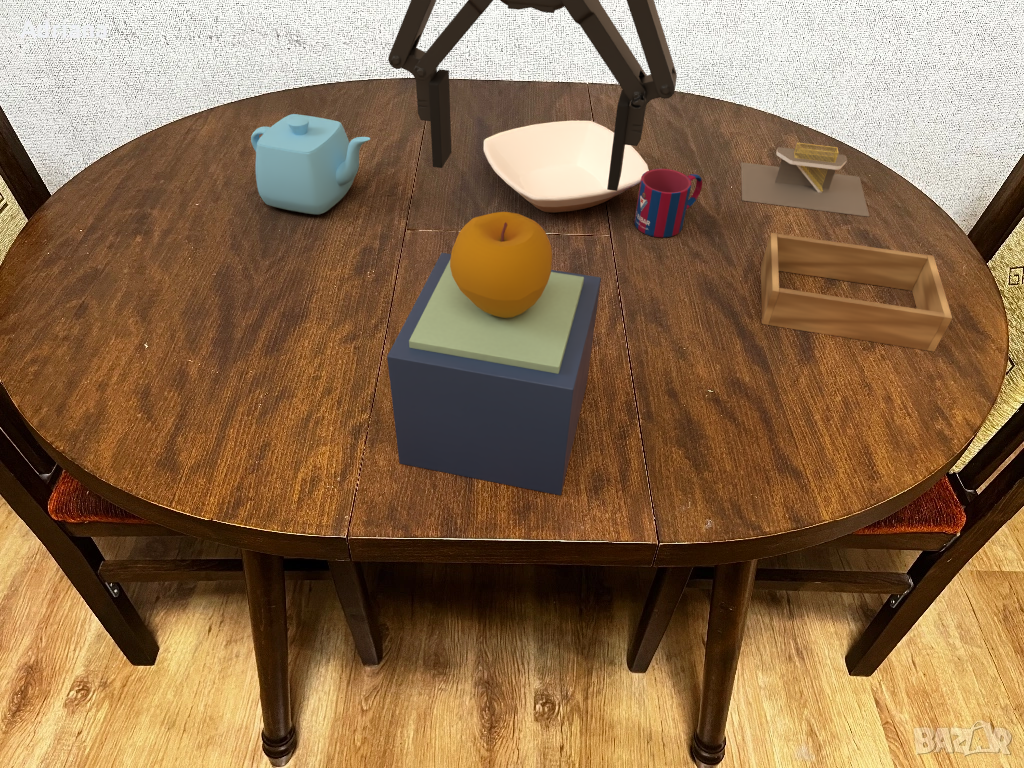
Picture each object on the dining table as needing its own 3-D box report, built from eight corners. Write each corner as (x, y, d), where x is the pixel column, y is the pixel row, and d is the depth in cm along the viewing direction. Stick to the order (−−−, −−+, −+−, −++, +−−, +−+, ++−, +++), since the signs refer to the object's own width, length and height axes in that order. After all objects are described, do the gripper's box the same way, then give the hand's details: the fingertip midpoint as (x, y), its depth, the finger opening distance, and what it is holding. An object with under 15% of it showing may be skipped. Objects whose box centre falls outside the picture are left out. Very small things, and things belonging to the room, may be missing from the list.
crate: (561, 495, 72) (573, 389, 62) (399, 463, 74) (386, 356, 64) (587, 382, 83) (601, 277, 73) (445, 357, 85) (441, 252, 76)
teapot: (359, 232, 103) (349, 153, 95) (240, 208, 106) (221, 130, 98) (395, 188, 112) (389, 112, 104) (284, 167, 115) (270, 93, 107)
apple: (443, 331, 66) (439, 244, 60) (463, 274, 72) (461, 190, 66) (541, 343, 65) (547, 256, 59) (553, 284, 71) (560, 200, 65)
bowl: (592, 144, 123) (596, 113, 119) (663, 211, 109) (669, 178, 105) (467, 167, 117) (467, 135, 113) (525, 242, 102) (526, 207, 99)
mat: (558, 374, 63) (559, 367, 63) (409, 347, 65) (408, 340, 65) (583, 283, 73) (584, 276, 72) (451, 262, 74) (451, 256, 74)
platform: (869, 216, 110) (886, 175, 105) (741, 200, 112) (753, 158, 107) (859, 176, 118) (874, 136, 114) (741, 162, 120) (751, 122, 116)
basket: (934, 351, 88) (952, 318, 85) (761, 324, 91) (772, 290, 88) (917, 288, 97) (933, 255, 94) (760, 265, 100) (770, 232, 97)
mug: (625, 217, 108) (631, 173, 103) (684, 203, 111) (693, 160, 106) (650, 242, 103) (658, 197, 98) (711, 226, 106) (722, 182, 102)
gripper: (757, -160, 45) (691, 167, 60) (360, -186, 49) (389, 130, 64) (760, -137, 40) (686, 216, 55) (313, -168, 44) (356, 172, 58)
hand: (526, 171), depth 59 cm, fingers open, 13 cm apart
